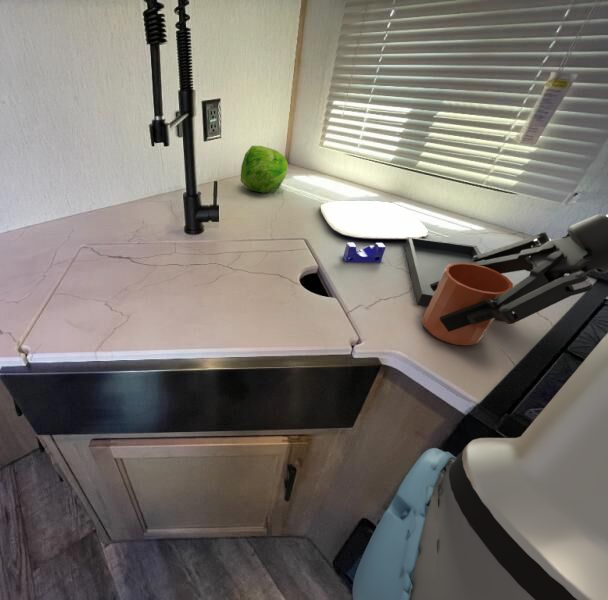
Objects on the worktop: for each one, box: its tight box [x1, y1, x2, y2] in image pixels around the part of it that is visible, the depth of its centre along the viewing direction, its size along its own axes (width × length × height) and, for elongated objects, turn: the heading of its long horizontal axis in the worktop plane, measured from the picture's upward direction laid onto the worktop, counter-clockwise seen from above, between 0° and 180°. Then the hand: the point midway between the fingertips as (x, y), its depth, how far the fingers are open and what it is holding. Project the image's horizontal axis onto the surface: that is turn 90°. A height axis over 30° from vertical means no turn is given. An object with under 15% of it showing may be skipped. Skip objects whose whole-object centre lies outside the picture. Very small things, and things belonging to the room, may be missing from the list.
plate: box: [319, 200, 429, 241], centre depth 97 cm, size 25×25×2 cm
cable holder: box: [342, 242, 386, 264], centre depth 80 cm, size 8×4×4 cm, turn 89°
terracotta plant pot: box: [421, 263, 514, 346], centre depth 58 cm, size 9×9×11 cm
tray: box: [404, 237, 506, 322], centre depth 74 cm, size 26×15×3 cm, turn 161°
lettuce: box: [240, 145, 289, 194], centre depth 116 cm, size 15×20×14 cm
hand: (438, 306), depth 60 cm, fingers closed on terracotta plant pot, 9 cm apart
